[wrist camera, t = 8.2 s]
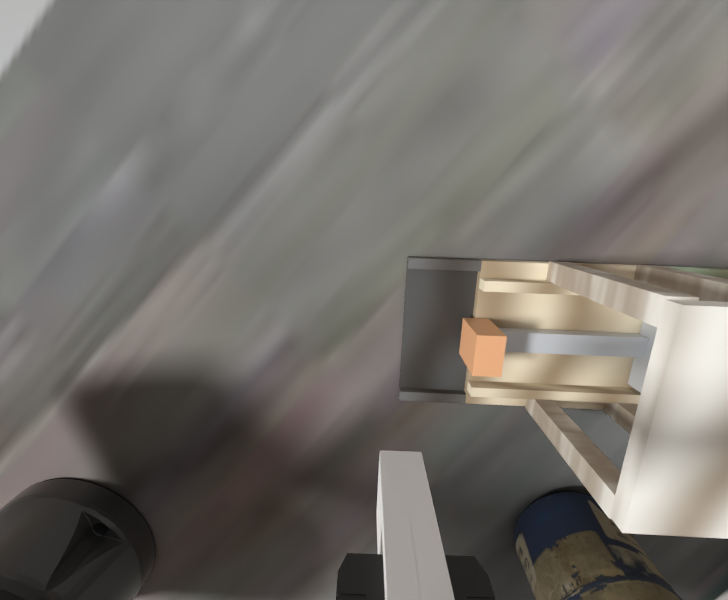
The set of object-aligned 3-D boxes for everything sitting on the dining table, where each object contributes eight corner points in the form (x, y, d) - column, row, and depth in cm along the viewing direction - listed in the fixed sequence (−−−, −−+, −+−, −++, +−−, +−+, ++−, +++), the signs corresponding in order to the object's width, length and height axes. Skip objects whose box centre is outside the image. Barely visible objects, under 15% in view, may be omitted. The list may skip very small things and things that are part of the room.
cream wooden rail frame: (398, 395, 31) (415, 524, 18) (407, 254, 28) (435, 291, 15) (703, 409, 30) (936, 552, 18) (746, 267, 27) (1065, 316, 15)
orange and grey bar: (456, 376, 29) (469, 401, 25) (465, 292, 27) (480, 306, 23) (715, 387, 29) (768, 415, 25) (741, 303, 27) (803, 319, 23)
